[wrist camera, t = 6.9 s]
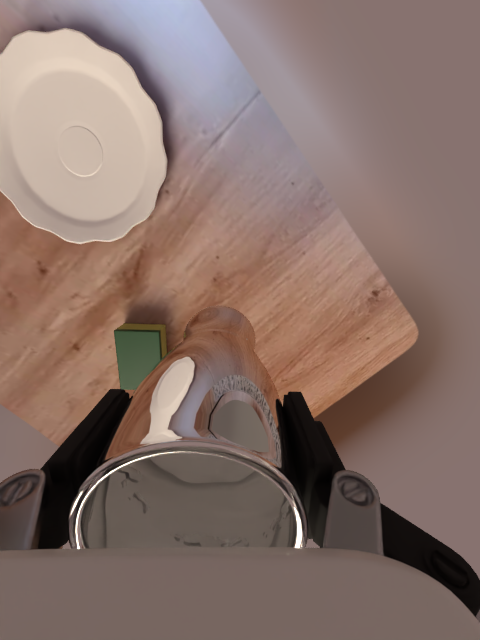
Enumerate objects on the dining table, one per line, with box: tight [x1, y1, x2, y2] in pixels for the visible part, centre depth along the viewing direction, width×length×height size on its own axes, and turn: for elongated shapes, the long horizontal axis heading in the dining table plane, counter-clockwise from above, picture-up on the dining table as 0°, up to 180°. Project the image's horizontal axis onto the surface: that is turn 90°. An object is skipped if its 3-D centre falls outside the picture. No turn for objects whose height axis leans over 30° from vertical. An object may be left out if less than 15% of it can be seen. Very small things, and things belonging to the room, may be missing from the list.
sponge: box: [114, 323, 167, 390], centre depth 36 cm, size 9×6×3 cm, turn 178°
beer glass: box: [67, 306, 309, 549], centre depth 14 cm, size 7×7×15 cm
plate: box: [0, 28, 168, 244], centre depth 29 cm, size 21×21×2 cm
